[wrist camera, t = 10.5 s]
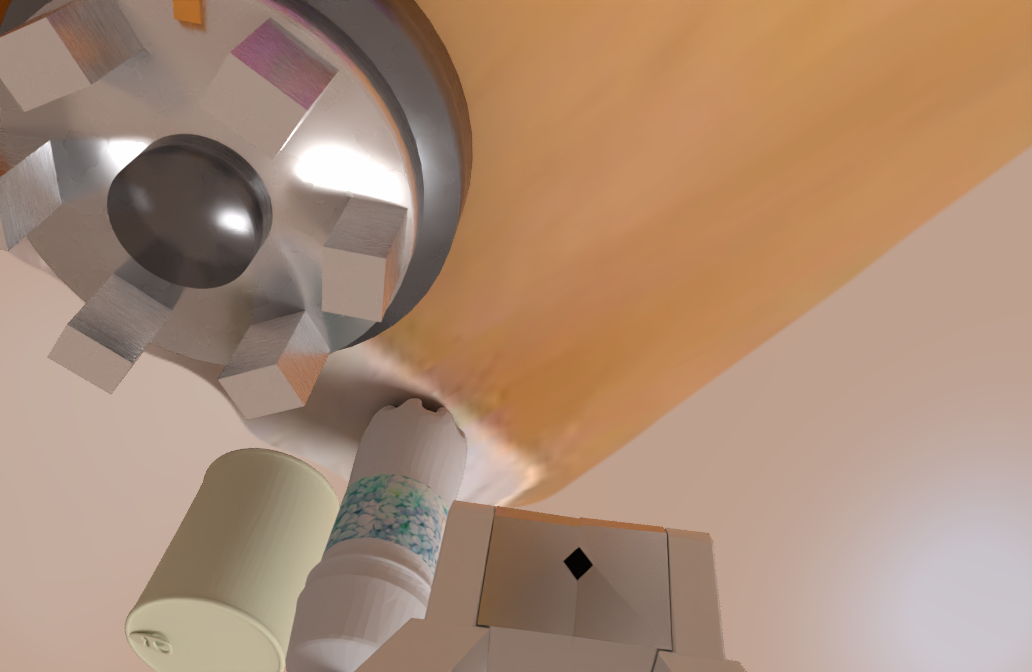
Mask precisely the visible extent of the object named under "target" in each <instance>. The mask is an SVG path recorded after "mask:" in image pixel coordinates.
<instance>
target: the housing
mask: <svg viewBox="0 0 1032 672" xmlns="http://www.w3.org/2000/svg"><path fill="white" fill-rule="evenodd" d="M51 1H53V0H12V1H11V3H10V5H9V6H8V8H7V11H6V14H5V17H4V19H3V22H2V25H1V27H0V36H1V35H3V34H4V33H6V32H8V31H10V30H12V29H14V28H16V27H18V26H20V25H22V24H23V23H25V22H26V21H27V20H28V19H29V18H30V17H32V16H33V15H34V14H35V13H36V12H37V11H39V10H40V9H41V8H42V7H43V6H45V5H46V4H48V3H49V2H51ZM304 1H305V2H307V3H308V4H310V5H311V6H312V7H314V8H315V9H317V10H318V11H319V12H321V13H322V14H324V15H325V16H327V17H328V18H329V19H330V20H331V21H333V22H334V23H335V24H336V25H337V26H338V27H339V28H340V29H342V30H343V31H344V32H345V33H346V34H347V35H348V36H349V37H351V38H352V39H353V40H354V42H355V43H356V44H357V45H358V46H359V47H360V48H361V49H362V50H363V52H364V53H365V54H366V55H367V56H368V57H369V58H370V59H371V61H372V62H373V63H374V64H375V66H376V67H377V68H378V70H379V71H380V73H381V74H382V76H383V77H384V78H385V80H386V81H387V83H388V84H389V85H390V87H391V89H392V90H393V92H394V94H395V96H396V98H397V100H398V101H399V103H400V105H401V107H402V109H403V111H404V112H405V115H406V117H407V120H408V122H409V125H410V127H411V130H412V132H413V135H414V138H415V141H416V145H417V149H418V153H419V157H420V160H421V164H422V173H423V182H424V214H423V219H422V225H421V231H420V236H419V239H418V241H417V244H416V247H415V250H414V253H413V256H412V258H411V261H410V263H409V266H408V269H407V271H406V274H405V276H404V279H403V281H402V284H401V286H400V288H399V290H398V291H397V293H396V295H395V297H394V299H393V301H392V303H391V304H390V306H389V307H388V308H387V309H386V312H385V314H384V316H383V319H382V321H381V322H376V323H375V324H374V325H373V326H372V327H370V328H369V329H368V330H367V331H366V332H365V333H364V334H363V335H362V336H360V337H359V338H357V339H356V340H354V341H353V342H351V343H350V344H348V345H347V346H345V347H343V348H341V349H345V348H348V347H352V346H354V345H357V344H359V343H361V342H364V341H366V340H368V339H370V338H373V337H375V336H376V335H378V334H380V333H381V332H383V331H385V330H386V329H388V328H390V327H391V326H393V325H394V324H395V323H397V322H398V321H399V320H400V319H401V318H403V317H404V316H405V315H406V314H408V313H409V312H410V311H411V310H412V309H413V308H414V307H415V306H416V305H417V303H418V302H419V301H420V300H421V299H422V298H423V297H424V296H425V294H426V293H427V292H428V290H429V289H430V287H431V286H432V284H433V283H434V281H435V279H436V278H437V276H438V275H439V273H440V271H441V269H442V267H443V264H444V262H445V260H446V257H447V255H448V253H449V251H450V248H451V245H452V242H453V239H454V236H455V233H456V230H457V227H458V224H459V221H460V218H461V215H462V212H463V209H464V205H465V201H466V197H467V193H468V190H469V186H470V178H471V169H472V131H471V125H470V119H469V113H468V107H467V103H466V99H465V96H464V93H463V90H462V86H461V83H460V80H459V76H458V74H457V72H456V69H455V67H454V65H453V63H452V61H451V58H450V56H449V54H448V52H447V49H446V47H445V45H444V44H443V42H442V40H441V39H440V37H439V35H438V34H437V32H436V30H435V29H434V27H433V25H432V24H431V22H430V20H429V19H428V18H427V16H426V15H425V14H424V13H423V11H422V10H421V9H420V7H419V6H418V5H417V3H416V2H415V1H414V0H304ZM341 349H339V350H341ZM337 351H338V350H337Z"/></svg>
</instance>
